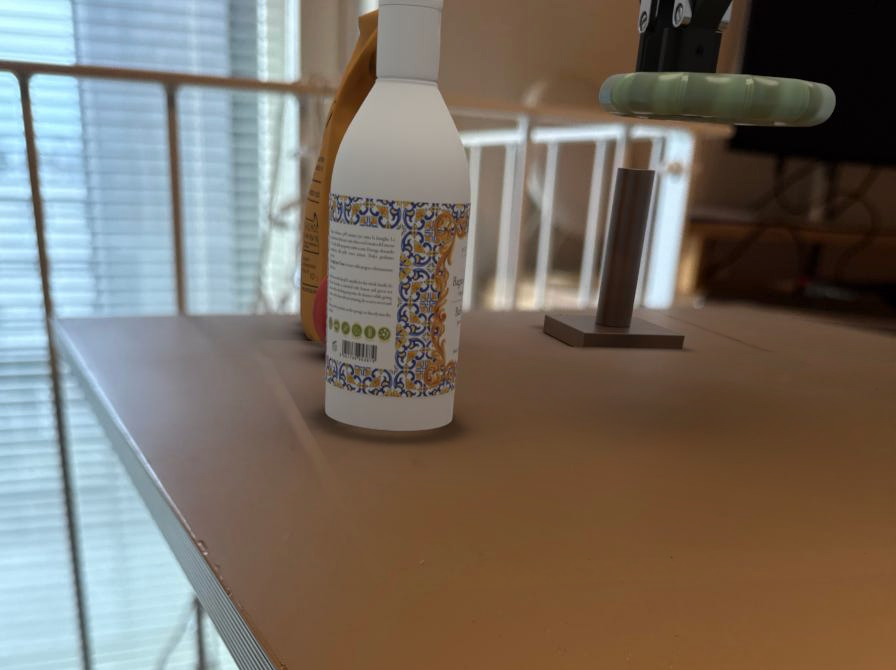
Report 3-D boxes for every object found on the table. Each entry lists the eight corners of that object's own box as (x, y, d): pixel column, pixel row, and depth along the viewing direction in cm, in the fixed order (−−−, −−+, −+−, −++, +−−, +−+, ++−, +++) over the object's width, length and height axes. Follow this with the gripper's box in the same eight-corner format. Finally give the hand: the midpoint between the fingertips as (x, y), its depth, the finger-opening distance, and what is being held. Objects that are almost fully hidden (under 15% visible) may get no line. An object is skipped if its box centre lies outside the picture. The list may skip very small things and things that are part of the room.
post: (634, 334, 88) (661, 170, 82) (681, 353, 80) (715, 174, 74) (542, 331, 86) (563, 163, 80) (582, 351, 78) (608, 167, 72)
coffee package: (414, 327, 83) (433, 27, 73) (435, 356, 72) (460, 8, 62) (298, 322, 81) (301, 15, 71) (301, 350, 71) (305, -7, 60)
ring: (747, 127, 57) (754, 91, 56) (877, 128, 47) (888, 85, 46) (565, 113, 54) (569, 76, 53) (662, 111, 44) (669, 66, 43)
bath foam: (440, 453, 49) (477, -16, 40) (309, 437, 50) (316, -25, 41) (459, 421, 55) (496, 7, 46) (342, 407, 56) (355, 0, 47)
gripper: (917, -384, 40) (810, 119, 48) (718, -254, 53) (662, 121, 62) (758, -421, 38) (675, 109, 46) (594, -277, 52) (553, 113, 60)
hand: (668, 113), depth 54 cm, fingers closed on ring, 2 cm apart
